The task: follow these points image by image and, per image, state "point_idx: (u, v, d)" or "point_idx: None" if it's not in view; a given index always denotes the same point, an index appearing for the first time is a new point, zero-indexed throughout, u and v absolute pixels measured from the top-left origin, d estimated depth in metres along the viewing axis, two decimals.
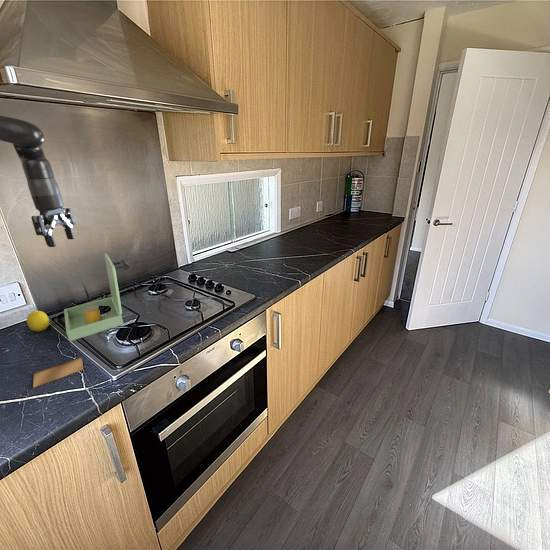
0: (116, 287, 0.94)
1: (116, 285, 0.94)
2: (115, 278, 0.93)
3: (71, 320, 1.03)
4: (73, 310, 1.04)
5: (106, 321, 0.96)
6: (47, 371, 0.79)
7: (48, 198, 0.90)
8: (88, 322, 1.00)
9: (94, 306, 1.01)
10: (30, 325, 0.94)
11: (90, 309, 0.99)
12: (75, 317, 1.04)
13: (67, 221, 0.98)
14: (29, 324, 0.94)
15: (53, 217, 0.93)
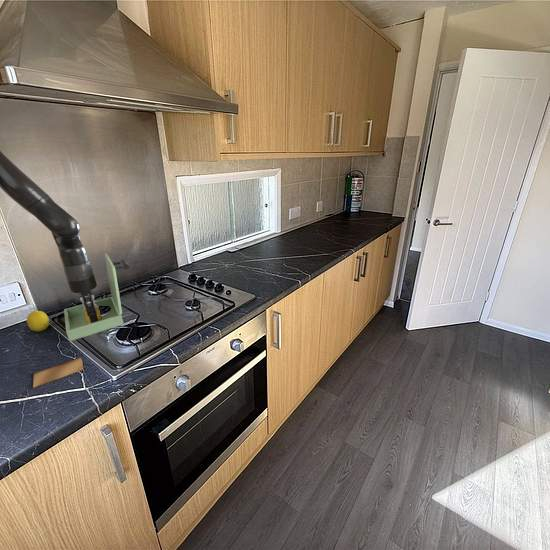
0: (116, 287, 0.94)
1: (116, 285, 0.94)
2: (115, 278, 0.93)
3: (71, 320, 1.03)
4: (73, 310, 1.04)
5: (106, 321, 0.96)
6: (47, 371, 0.79)
7: (91, 279, 0.95)
8: (88, 322, 1.00)
9: None
10: (30, 325, 0.94)
11: None
12: (75, 317, 1.04)
13: (93, 299, 1.02)
14: (29, 324, 0.94)
15: (92, 296, 0.97)
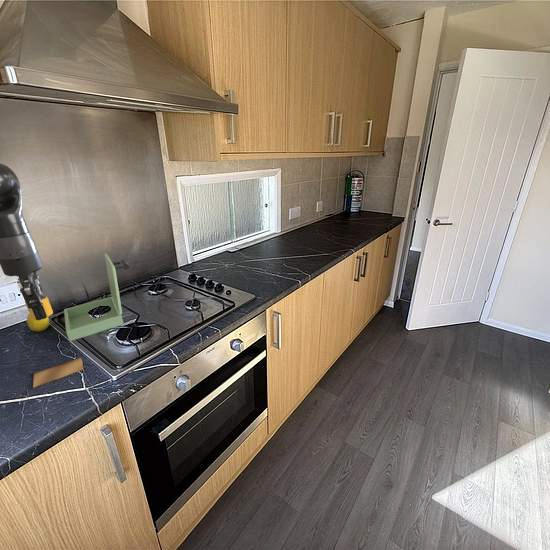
0: (116, 287, 0.94)
1: (116, 285, 0.94)
2: (115, 278, 0.93)
3: (71, 320, 1.03)
4: (73, 310, 1.04)
5: (106, 321, 0.96)
6: (47, 371, 0.79)
7: (32, 258, 0.70)
8: (32, 317, 0.74)
9: (41, 295, 0.76)
10: (30, 325, 0.94)
11: (34, 300, 0.74)
12: (75, 317, 1.04)
13: (41, 286, 0.76)
14: (29, 324, 0.94)
15: (36, 281, 0.72)
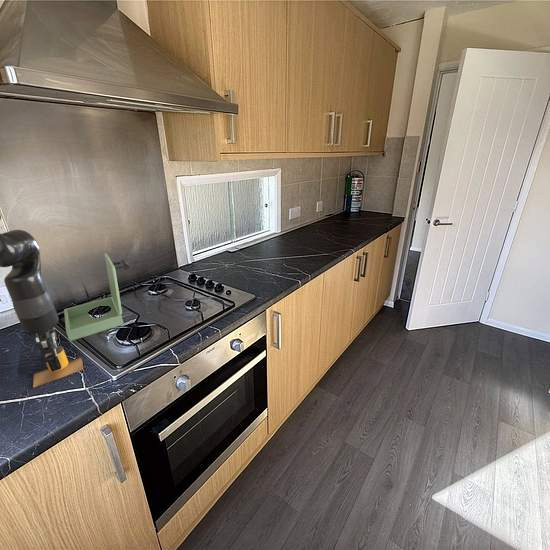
0: (116, 287, 0.94)
1: (116, 285, 0.94)
2: (115, 278, 0.93)
3: (71, 320, 1.03)
4: (73, 310, 1.04)
5: (106, 321, 0.96)
6: (47, 371, 0.79)
7: (50, 315, 0.74)
8: (50, 369, 0.79)
9: (58, 348, 0.81)
10: None
11: None
12: (75, 317, 1.04)
13: None
14: None
15: (53, 334, 0.76)
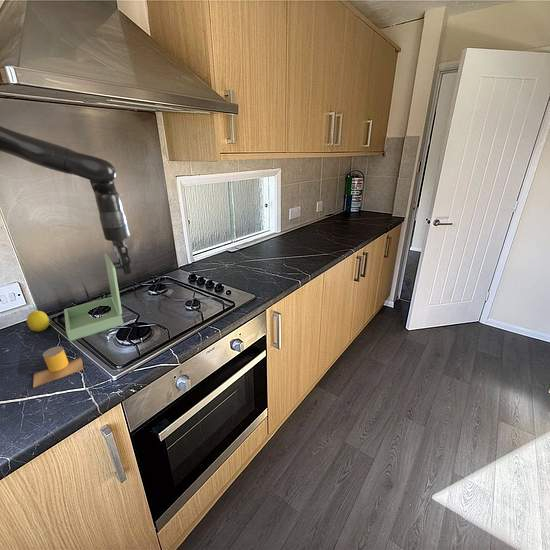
0: (116, 287, 0.94)
1: (116, 285, 0.94)
2: (115, 278, 0.93)
3: (71, 320, 1.03)
4: (73, 310, 1.04)
5: (106, 321, 0.96)
6: (47, 371, 0.79)
7: (125, 228, 0.96)
8: (50, 369, 0.79)
9: (58, 348, 0.81)
10: (30, 325, 0.94)
11: (52, 353, 0.79)
12: (75, 317, 1.04)
13: None
14: (29, 324, 0.94)
15: (126, 245, 0.98)
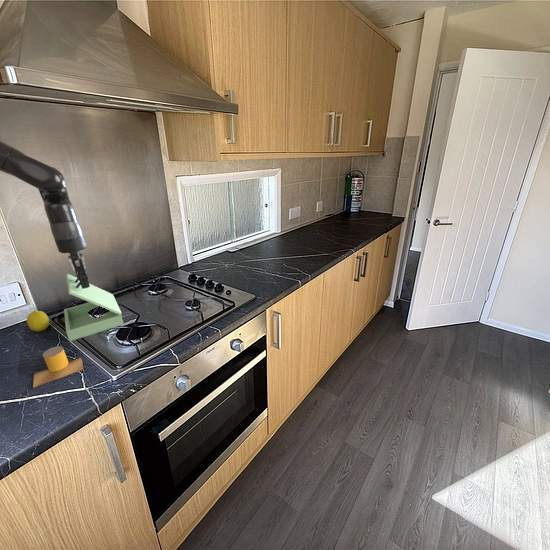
0: (92, 302, 0.91)
1: (90, 301, 0.91)
2: (82, 297, 0.89)
3: (71, 320, 1.03)
4: (73, 310, 1.04)
5: (106, 321, 0.96)
6: (47, 371, 0.79)
7: (80, 239, 0.90)
8: (50, 369, 0.79)
9: (58, 348, 0.81)
10: (30, 325, 0.94)
11: (52, 353, 0.79)
12: (75, 317, 1.04)
13: None
14: (29, 324, 0.94)
15: (82, 257, 0.92)
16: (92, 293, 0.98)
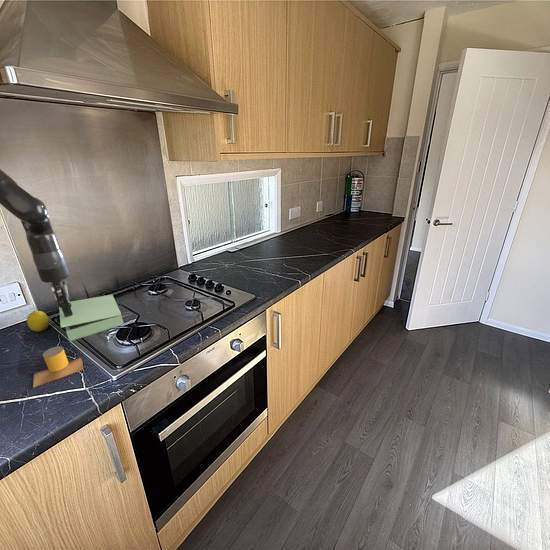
0: (87, 321, 0.92)
1: (84, 321, 0.92)
2: (75, 323, 0.91)
3: None
4: None
5: (106, 321, 0.96)
6: (47, 371, 0.79)
7: (63, 268, 0.90)
8: (50, 369, 0.79)
9: (58, 348, 0.81)
10: (30, 325, 0.94)
11: (52, 353, 0.79)
12: None
13: (67, 288, 0.96)
14: (29, 324, 0.94)
15: (65, 286, 0.92)
16: (87, 310, 0.98)
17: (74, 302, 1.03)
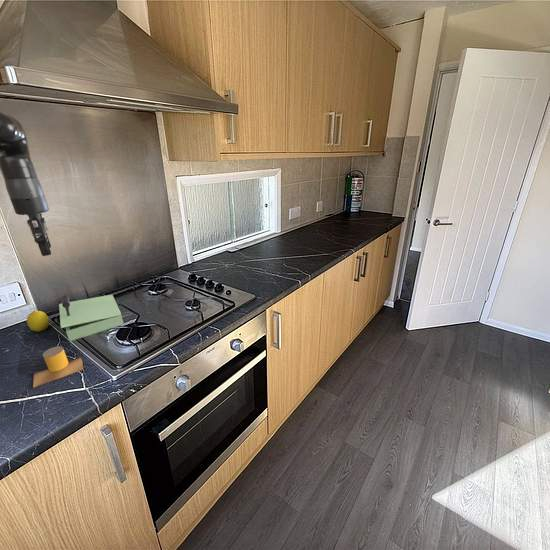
0: (87, 321, 0.92)
1: (84, 321, 0.92)
2: (75, 323, 0.91)
3: None
4: None
5: (106, 321, 0.96)
6: (47, 371, 0.79)
7: (40, 200, 0.80)
8: (50, 369, 0.79)
9: (58, 348, 0.81)
10: (30, 325, 0.94)
11: (52, 353, 0.79)
12: None
13: (46, 227, 0.87)
14: (29, 324, 0.94)
15: (43, 221, 0.82)
16: (87, 310, 0.98)
17: (74, 302, 1.03)
